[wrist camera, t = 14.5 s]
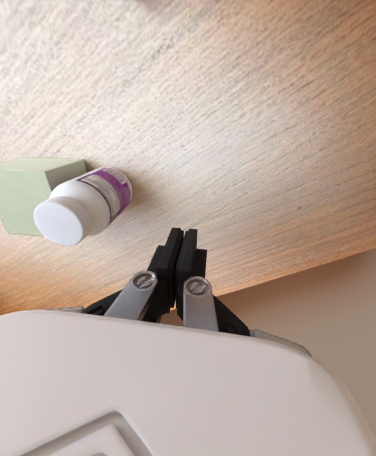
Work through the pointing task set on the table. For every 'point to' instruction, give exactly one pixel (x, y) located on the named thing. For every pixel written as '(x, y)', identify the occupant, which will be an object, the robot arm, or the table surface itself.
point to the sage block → (31, 188)
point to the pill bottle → (83, 205)
